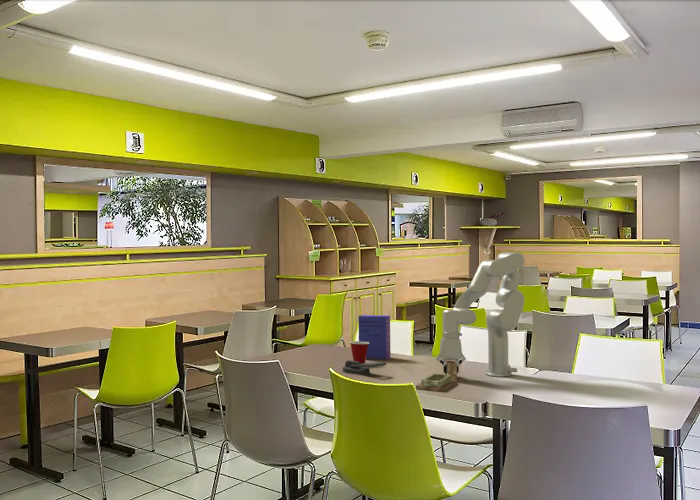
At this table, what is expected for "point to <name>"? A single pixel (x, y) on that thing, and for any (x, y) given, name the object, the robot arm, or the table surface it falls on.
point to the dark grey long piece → (359, 367)
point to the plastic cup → (359, 350)
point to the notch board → (437, 383)
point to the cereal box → (375, 335)
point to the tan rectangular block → (452, 369)
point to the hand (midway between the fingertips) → (451, 373)
